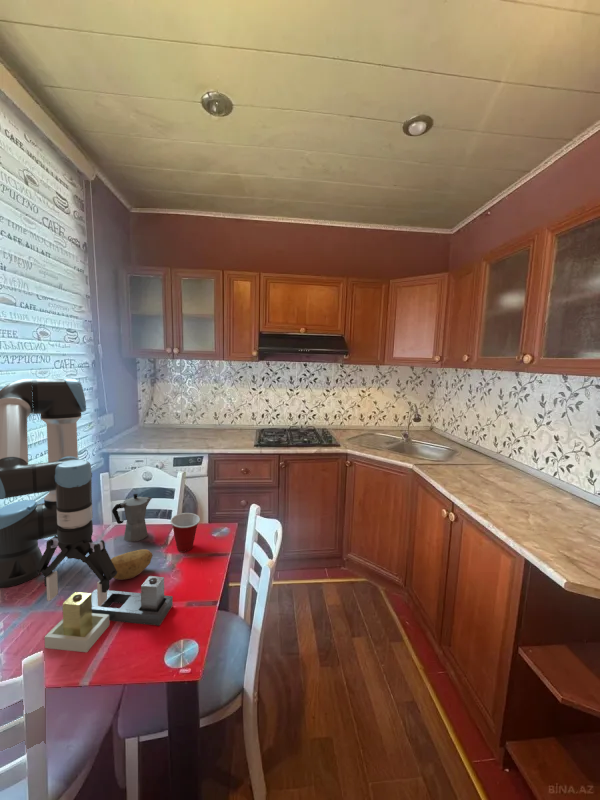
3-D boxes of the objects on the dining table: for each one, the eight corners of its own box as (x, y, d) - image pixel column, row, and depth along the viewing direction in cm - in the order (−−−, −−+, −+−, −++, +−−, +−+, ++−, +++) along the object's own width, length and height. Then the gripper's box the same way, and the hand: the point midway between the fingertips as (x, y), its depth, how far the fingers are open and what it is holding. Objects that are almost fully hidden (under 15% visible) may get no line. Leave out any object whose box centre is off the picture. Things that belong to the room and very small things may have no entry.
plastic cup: (178, 559, 127) (178, 528, 125) (165, 547, 134) (165, 518, 133) (205, 548, 134) (205, 519, 133) (191, 538, 142) (191, 510, 141)
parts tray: (45, 648, 86) (44, 636, 86) (71, 621, 95) (71, 611, 95) (86, 652, 85) (86, 640, 85) (109, 625, 94) (109, 614, 94)
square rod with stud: (141, 619, 97) (141, 584, 96) (149, 607, 102) (149, 574, 100) (156, 620, 97) (156, 585, 96) (164, 609, 101) (164, 575, 100)
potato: (157, 574, 117) (157, 552, 116) (111, 591, 108) (111, 567, 107) (147, 561, 124) (147, 540, 124) (103, 576, 115) (103, 554, 114)
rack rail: (76, 617, 97) (76, 607, 96) (95, 598, 105) (95, 589, 104) (159, 625, 95) (159, 615, 95) (172, 605, 103) (172, 596, 103)
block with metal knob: (76, 626, 93) (75, 590, 92) (92, 628, 92) (91, 591, 91) (63, 639, 88) (62, 602, 87) (80, 641, 88) (79, 603, 87)
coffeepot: (146, 527, 150) (146, 486, 148) (156, 534, 143) (156, 493, 141) (108, 539, 138) (107, 496, 136) (117, 548, 132) (116, 503, 130)
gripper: (15, 525, 84) (19, 605, 87) (113, 534, 82) (114, 615, 85) (40, 511, 92) (43, 585, 94) (131, 519, 90) (131, 594, 92)
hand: (77, 600), depth 90 cm, fingers open, 13 cm apart
